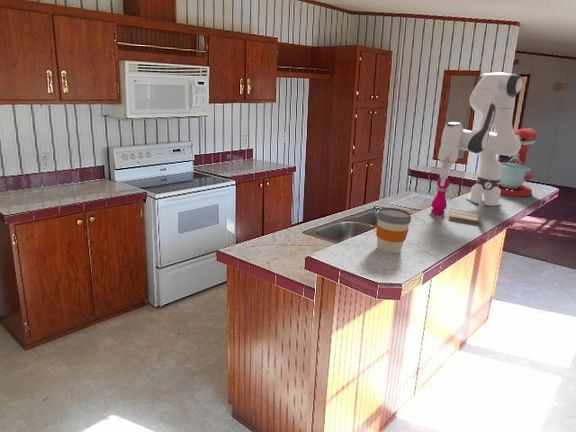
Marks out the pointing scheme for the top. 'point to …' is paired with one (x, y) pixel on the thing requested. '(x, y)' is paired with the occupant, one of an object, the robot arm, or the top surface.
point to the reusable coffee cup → (392, 229)
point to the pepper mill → (440, 198)
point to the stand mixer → (518, 167)
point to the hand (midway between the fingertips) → (442, 184)
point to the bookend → (468, 214)
